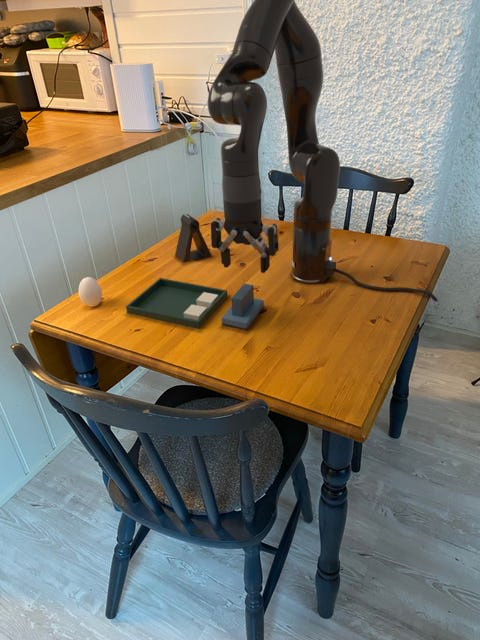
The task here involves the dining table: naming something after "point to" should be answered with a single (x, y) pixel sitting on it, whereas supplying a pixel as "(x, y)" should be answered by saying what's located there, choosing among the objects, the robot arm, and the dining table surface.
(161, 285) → the tray
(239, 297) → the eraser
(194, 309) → the cream slab tile
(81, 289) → the egg
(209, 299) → the beige square tile
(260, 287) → the dining table surface
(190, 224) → the dark grey a-frame stand
